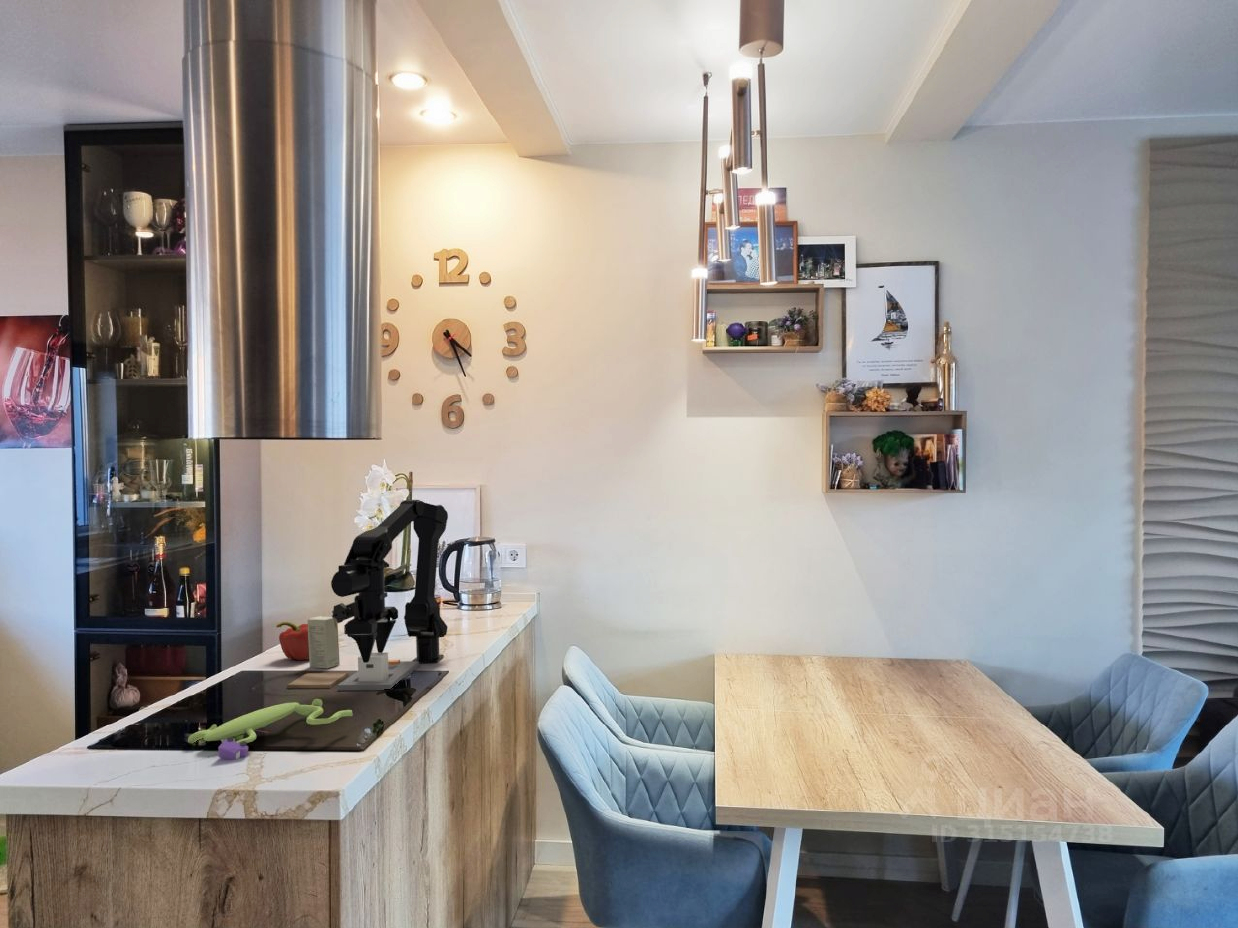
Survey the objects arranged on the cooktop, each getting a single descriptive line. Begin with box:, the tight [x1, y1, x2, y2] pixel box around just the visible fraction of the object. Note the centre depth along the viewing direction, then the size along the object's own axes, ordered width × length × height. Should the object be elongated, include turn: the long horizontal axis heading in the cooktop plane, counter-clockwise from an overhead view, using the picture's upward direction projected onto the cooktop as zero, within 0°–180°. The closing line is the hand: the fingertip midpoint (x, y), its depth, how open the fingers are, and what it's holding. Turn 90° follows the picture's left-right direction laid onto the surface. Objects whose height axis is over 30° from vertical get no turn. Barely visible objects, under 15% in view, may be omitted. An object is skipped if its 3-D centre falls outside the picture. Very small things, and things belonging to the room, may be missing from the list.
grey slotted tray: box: [337, 659, 420, 691], centre depth 191 cm, size 21×12×2 cm, turn 177°
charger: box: [357, 652, 389, 682], centre depth 187 cm, size 4×6×6 cm
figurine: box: [187, 698, 353, 760], centre depth 150 cm, size 18×27×6 cm
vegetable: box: [276, 621, 309, 661], centre depth 212 cm, size 11×10×10 cm
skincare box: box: [307, 615, 341, 669], centre depth 204 cm, size 6×4×12 cm
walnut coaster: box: [286, 672, 349, 689], centre depth 189 cm, size 10×10×1 cm
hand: (373, 657), depth 187 cm, fingers open, 9 cm apart
